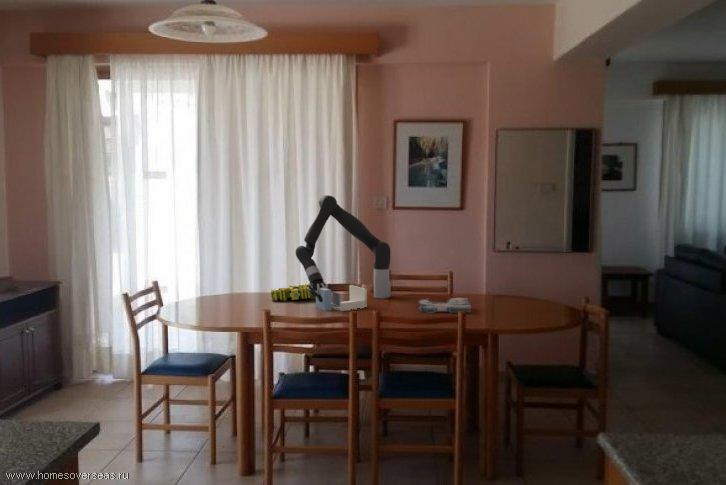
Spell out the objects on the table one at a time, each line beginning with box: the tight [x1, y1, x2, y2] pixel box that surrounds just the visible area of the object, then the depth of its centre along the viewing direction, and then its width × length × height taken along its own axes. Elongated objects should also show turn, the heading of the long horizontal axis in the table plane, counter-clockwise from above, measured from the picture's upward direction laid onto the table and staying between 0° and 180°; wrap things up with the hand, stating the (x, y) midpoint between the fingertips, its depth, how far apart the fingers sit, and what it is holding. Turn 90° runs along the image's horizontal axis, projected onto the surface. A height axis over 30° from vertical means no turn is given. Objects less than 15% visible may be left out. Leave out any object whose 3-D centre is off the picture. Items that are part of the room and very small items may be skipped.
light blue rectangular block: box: [315, 288, 332, 312], centre depth 335 cm, size 4×10×11 cm, turn 33°
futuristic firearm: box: [417, 297, 472, 314], centre depth 332 cm, size 6×28×20 cm
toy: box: [270, 282, 316, 302], centre depth 362 cm, size 17×10×30 cm
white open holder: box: [331, 284, 368, 312], centre depth 340 cm, size 16×16×10 cm
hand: (325, 300), depth 334 cm, fingers closed on light blue rectangular block, 4 cm apart
